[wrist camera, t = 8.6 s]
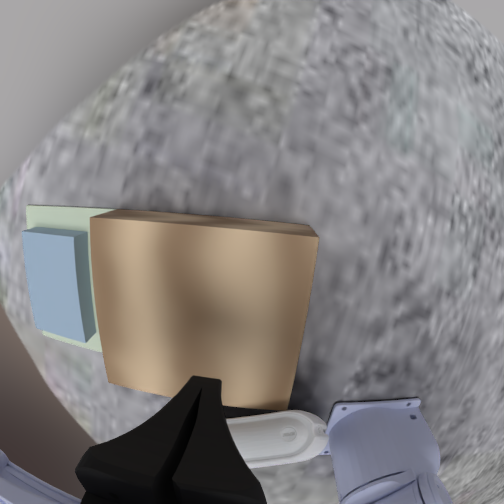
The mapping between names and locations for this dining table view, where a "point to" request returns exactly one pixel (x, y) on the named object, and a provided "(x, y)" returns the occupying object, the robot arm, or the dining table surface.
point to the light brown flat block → (202, 302)
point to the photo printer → (278, 437)
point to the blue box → (59, 281)
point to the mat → (69, 221)
